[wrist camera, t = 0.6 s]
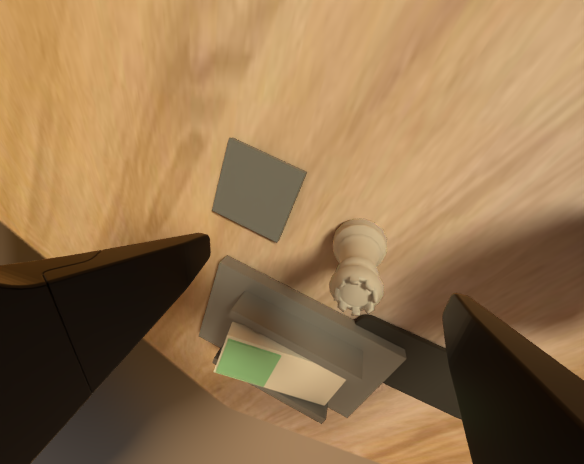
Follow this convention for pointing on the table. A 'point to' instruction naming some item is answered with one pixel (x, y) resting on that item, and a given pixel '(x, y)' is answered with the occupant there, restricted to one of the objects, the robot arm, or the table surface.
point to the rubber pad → (257, 189)
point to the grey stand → (300, 335)
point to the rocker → (274, 366)
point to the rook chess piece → (358, 265)
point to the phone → (417, 366)
